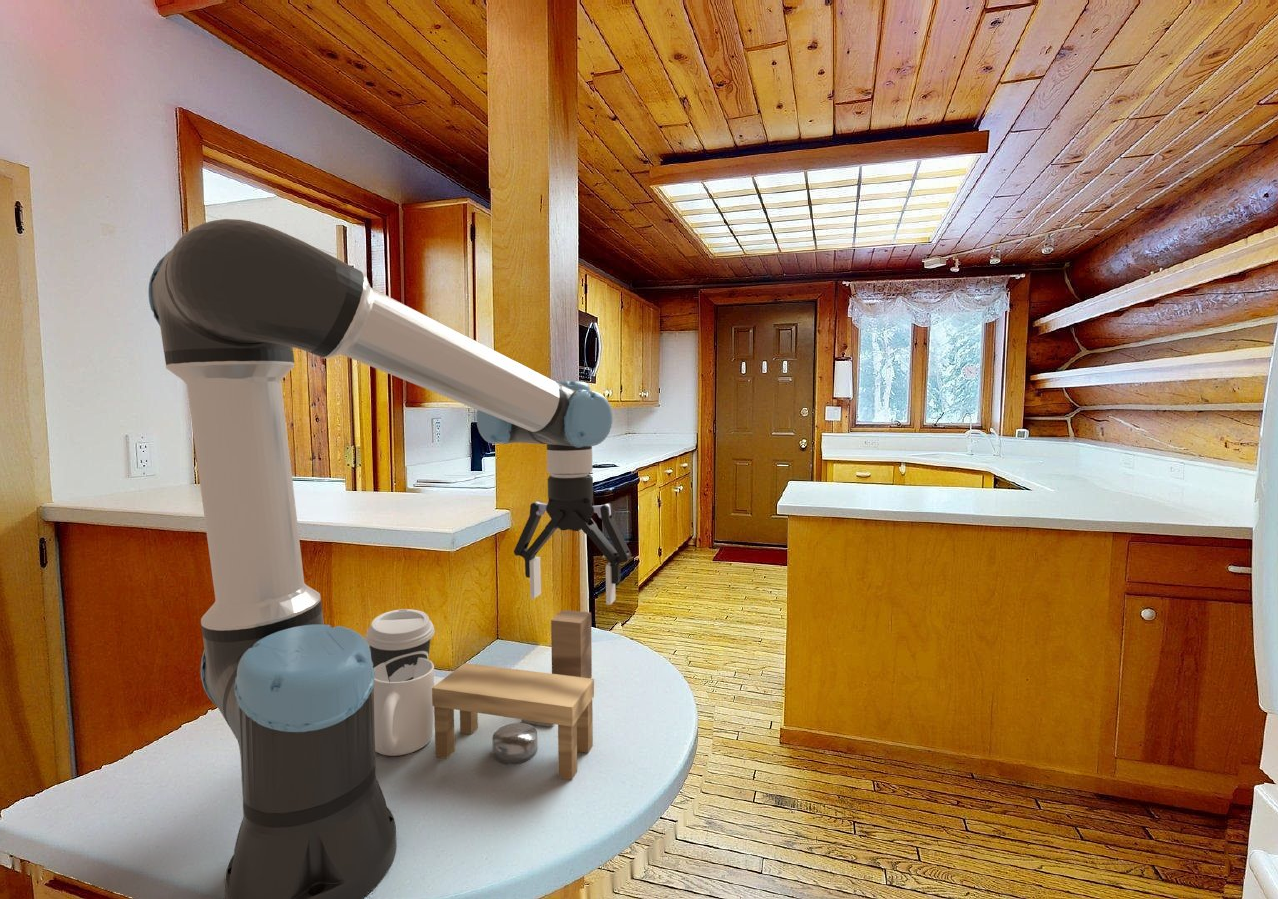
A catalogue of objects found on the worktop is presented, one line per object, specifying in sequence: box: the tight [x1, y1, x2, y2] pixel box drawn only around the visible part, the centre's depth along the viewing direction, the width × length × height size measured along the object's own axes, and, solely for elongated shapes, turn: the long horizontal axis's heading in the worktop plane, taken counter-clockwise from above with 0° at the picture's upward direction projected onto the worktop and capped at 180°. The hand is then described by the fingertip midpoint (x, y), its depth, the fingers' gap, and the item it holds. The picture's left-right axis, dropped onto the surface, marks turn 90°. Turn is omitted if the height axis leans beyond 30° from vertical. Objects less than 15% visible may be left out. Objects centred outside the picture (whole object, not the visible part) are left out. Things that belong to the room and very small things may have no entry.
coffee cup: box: [364, 608, 436, 682], centre depth 88 cm, size 10×10×15 cm
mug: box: [373, 658, 435, 757], centre depth 80 cm, size 12×8×10 cm
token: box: [491, 722, 539, 765], centre depth 80 cm, size 6×6×2 cm
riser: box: [432, 662, 595, 781], centre depth 80 cm, size 8×20×10 cm, turn 75°
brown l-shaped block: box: [521, 609, 593, 728], centre depth 94 cm, size 17×5×12 cm, turn 165°
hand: (572, 599), depth 100 cm, fingers open, 13 cm apart
